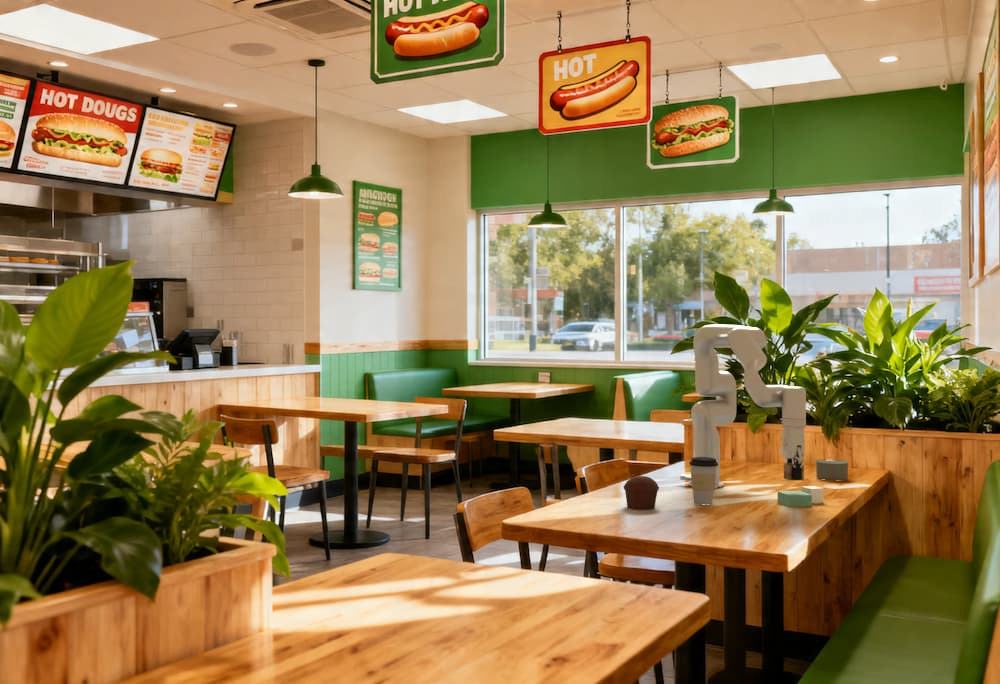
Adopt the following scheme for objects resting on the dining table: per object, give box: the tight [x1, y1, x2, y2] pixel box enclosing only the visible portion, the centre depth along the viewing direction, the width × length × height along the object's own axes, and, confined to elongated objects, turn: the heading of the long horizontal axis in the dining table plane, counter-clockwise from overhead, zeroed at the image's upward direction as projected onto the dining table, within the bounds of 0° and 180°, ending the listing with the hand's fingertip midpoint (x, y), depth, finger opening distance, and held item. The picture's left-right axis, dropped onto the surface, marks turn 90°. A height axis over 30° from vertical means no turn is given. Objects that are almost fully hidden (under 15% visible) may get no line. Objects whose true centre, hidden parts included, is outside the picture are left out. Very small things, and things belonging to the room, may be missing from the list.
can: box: [815, 458, 849, 481], centre depth 367 cm, size 12×12×7 cm
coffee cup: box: [689, 456, 718, 505], centre depth 311 cm, size 9×9×15 cm
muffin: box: [623, 475, 660, 511], centre depth 304 cm, size 12×11×10 cm
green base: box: [777, 490, 813, 508], centre depth 312 cm, size 8×8×4 cm
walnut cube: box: [783, 462, 805, 481], centre depth 312 cm, size 5×5×5 cm
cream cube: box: [801, 485, 824, 504], centre depth 316 cm, size 5×5×5 cm
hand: (793, 477), depth 312 cm, fingers closed on walnut cube, 5 cm apart
